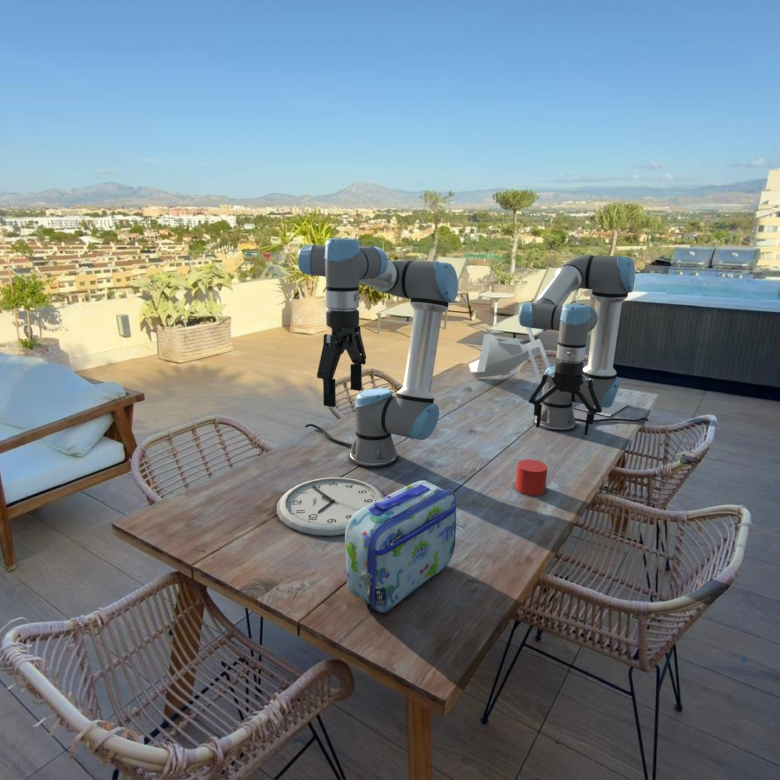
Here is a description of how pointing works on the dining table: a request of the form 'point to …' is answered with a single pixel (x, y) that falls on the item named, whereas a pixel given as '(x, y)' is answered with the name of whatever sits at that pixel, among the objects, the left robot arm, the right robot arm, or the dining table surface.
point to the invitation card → (605, 411)
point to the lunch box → (399, 543)
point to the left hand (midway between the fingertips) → (343, 397)
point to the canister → (531, 477)
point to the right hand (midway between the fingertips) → (561, 429)
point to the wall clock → (325, 504)
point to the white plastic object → (507, 356)
